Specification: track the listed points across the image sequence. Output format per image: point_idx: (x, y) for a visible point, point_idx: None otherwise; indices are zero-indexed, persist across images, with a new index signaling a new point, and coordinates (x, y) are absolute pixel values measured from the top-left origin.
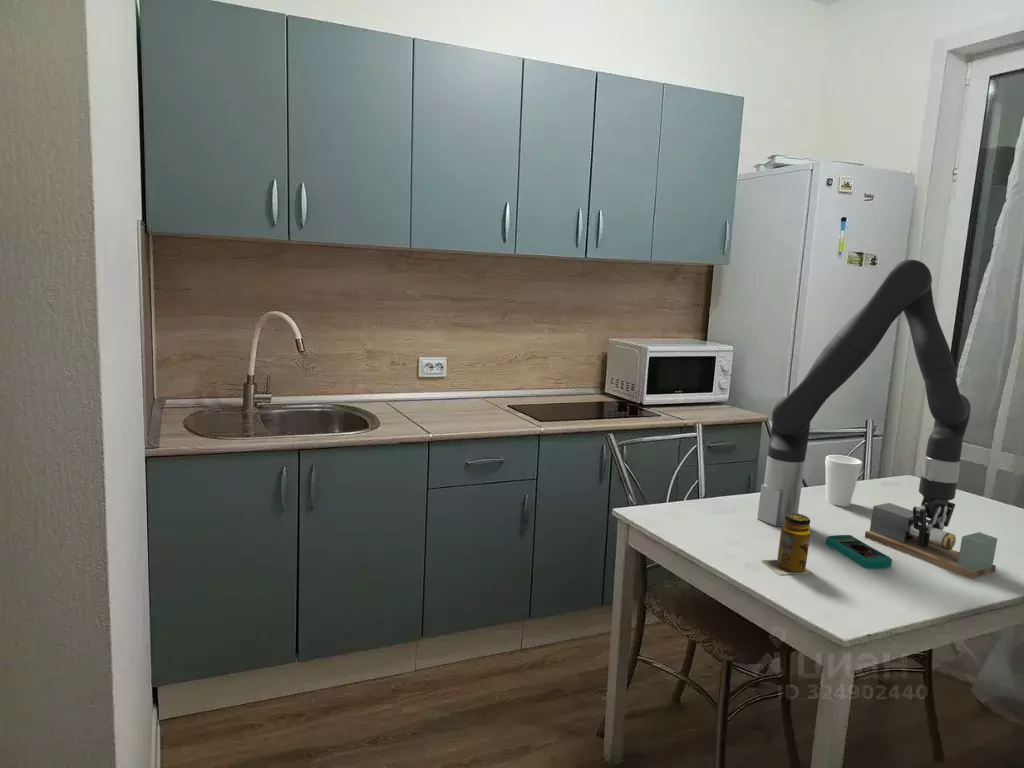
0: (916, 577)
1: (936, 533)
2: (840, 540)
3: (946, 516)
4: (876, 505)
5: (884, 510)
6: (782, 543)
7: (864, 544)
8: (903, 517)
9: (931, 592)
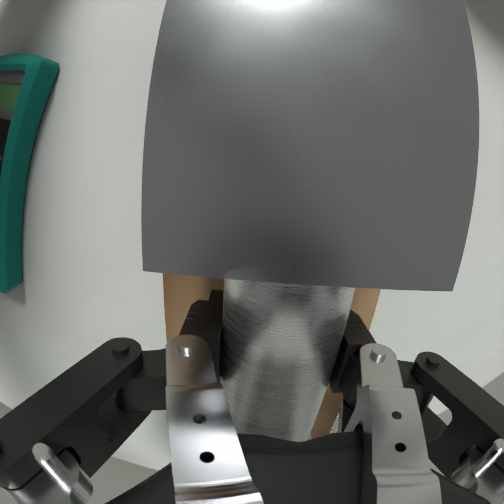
0: (42, 353)
1: (232, 417)
2: None
3: (430, 443)
4: None
5: None
6: None
7: (2, 159)
8: (148, 213)
9: (30, 390)
